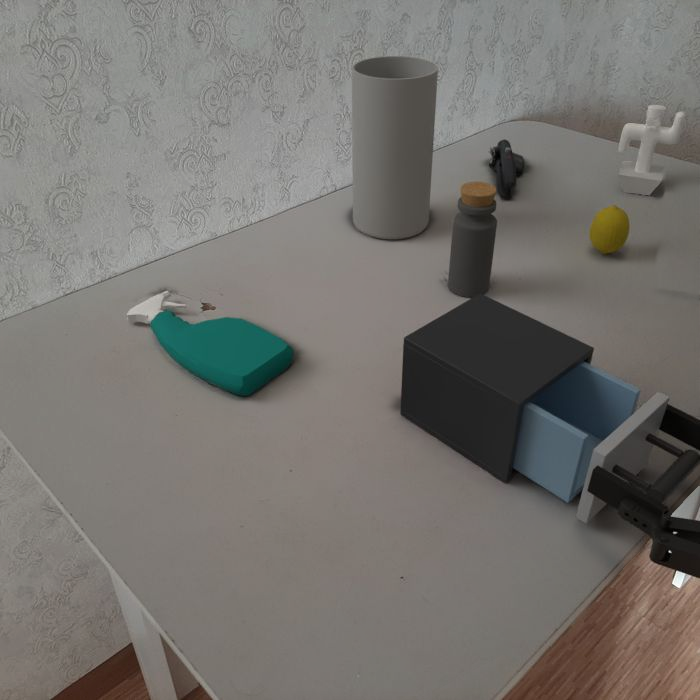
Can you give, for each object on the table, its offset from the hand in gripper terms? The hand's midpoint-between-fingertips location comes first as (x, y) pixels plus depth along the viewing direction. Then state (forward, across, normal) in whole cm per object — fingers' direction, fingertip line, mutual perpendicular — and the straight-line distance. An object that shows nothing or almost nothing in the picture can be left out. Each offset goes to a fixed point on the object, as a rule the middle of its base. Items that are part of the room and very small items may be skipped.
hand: (627, 445), depth 66 cm
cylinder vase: (+57, +27, -7) cm, 63 cm away
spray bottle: (+49, -15, -7) cm, 52 cm away
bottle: (+35, +21, -7) cm, 41 cm away
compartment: (+4, 0, -6) cm, 7 cm away
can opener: (+54, +55, -7) cm, 77 cm away
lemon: (+27, +43, -7) cm, 51 cm away
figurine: (+36, +69, -7) cm, 78 cm away
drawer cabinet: (+15, 0, -7) cm, 17 cm away
